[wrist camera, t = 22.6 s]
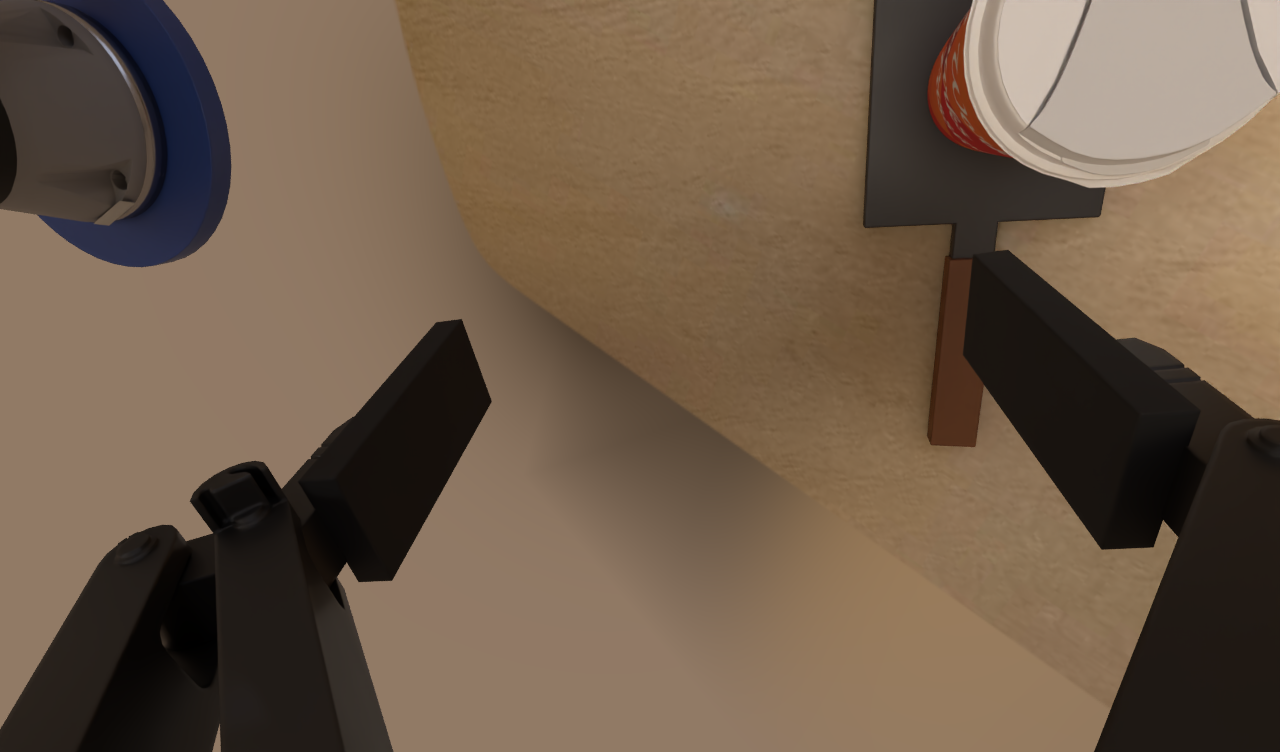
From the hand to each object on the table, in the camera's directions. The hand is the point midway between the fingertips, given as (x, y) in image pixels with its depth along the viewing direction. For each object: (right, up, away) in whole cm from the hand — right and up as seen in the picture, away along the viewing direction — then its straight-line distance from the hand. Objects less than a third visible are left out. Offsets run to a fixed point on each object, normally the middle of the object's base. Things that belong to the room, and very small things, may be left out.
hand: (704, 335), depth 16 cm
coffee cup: (+15, +13, +13) cm, 24 cm away
